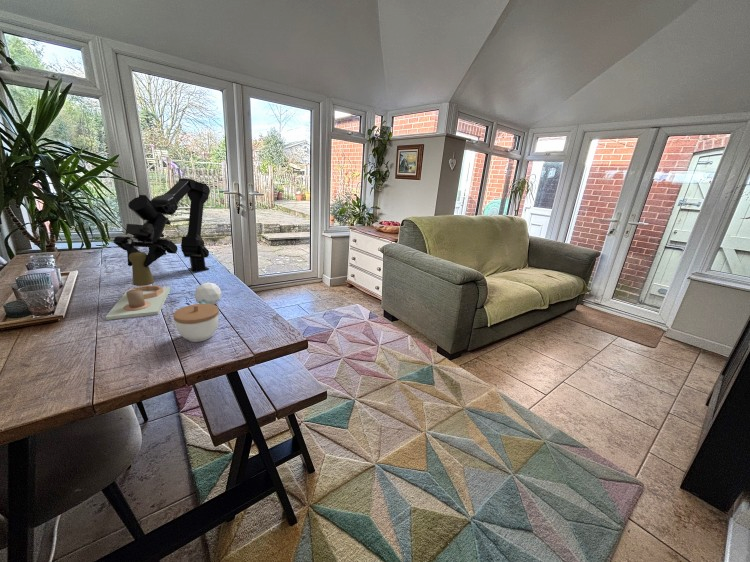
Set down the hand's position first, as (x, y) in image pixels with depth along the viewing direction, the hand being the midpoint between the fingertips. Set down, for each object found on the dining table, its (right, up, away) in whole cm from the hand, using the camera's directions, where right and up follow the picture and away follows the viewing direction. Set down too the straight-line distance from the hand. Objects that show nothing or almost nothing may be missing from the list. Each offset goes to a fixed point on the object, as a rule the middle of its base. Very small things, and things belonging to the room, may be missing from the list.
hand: (137, 266), depth 102 cm
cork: (0, -6, +4) cm, 7 cm away
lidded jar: (+32, -21, -18) cm, 42 cm away
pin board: (+2, -12, 0) cm, 12 cm away
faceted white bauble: (+24, -14, 0) cm, 28 cm away
